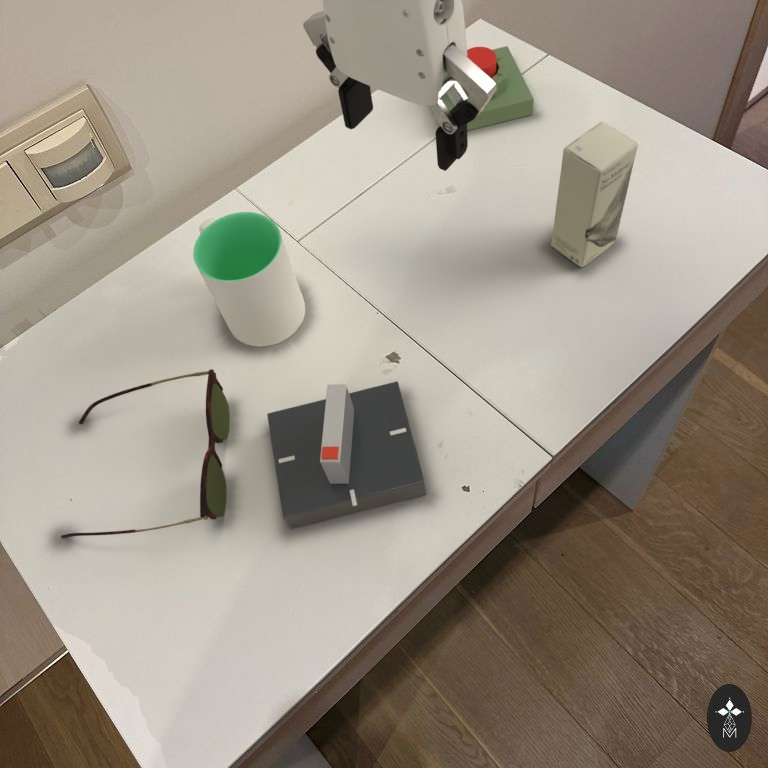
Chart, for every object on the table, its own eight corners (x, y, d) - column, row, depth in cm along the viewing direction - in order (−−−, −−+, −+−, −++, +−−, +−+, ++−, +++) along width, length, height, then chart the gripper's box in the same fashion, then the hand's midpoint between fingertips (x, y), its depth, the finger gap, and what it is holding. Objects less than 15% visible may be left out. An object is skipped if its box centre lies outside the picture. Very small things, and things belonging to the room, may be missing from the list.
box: (581, 270, 74) (598, 174, 63) (549, 246, 76) (560, 148, 65) (618, 241, 75) (641, 142, 64) (585, 218, 77) (602, 118, 66)
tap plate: (399, 391, 69) (396, 374, 67) (428, 501, 64) (426, 487, 61) (274, 422, 69) (265, 406, 67) (292, 535, 64) (283, 523, 61)
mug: (191, 293, 78) (153, 225, 69) (251, 249, 80) (222, 178, 72) (258, 360, 73) (227, 296, 64) (321, 311, 75) (299, 243, 66)
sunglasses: (225, 536, 64) (202, 516, 60) (66, 558, 66) (33, 540, 62) (231, 392, 72) (211, 365, 67) (88, 415, 74) (59, 391, 69)
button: (490, 56, 86) (490, 43, 85) (500, 78, 84) (500, 64, 83) (456, 64, 86) (456, 51, 85) (466, 86, 84) (465, 73, 83)
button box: (507, 61, 91) (507, 32, 88) (532, 114, 86) (534, 85, 82) (427, 81, 91) (425, 52, 87) (448, 135, 86) (446, 106, 82)
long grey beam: (336, 409, 66) (326, 382, 62) (354, 409, 66) (345, 382, 61) (329, 484, 62) (319, 460, 58) (348, 483, 62) (339, 460, 58)
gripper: (527, -67, 46) (517, 147, 61) (315, -126, 53) (352, 80, 68) (458, 0, 44) (465, 206, 58) (245, -71, 50) (299, 130, 65)
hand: (404, 138), depth 63 cm, fingers open, 9 cm apart
